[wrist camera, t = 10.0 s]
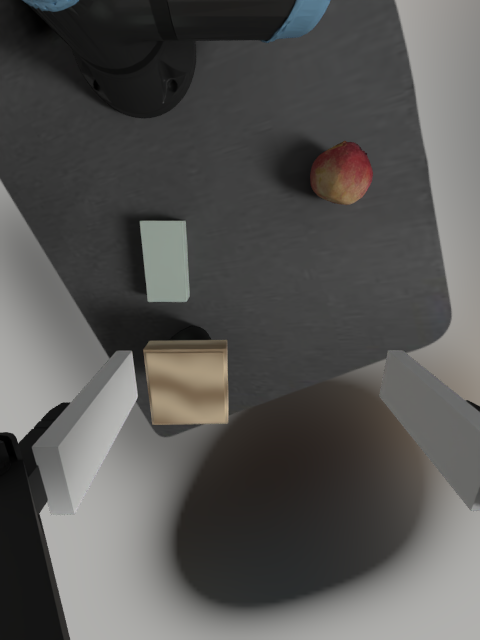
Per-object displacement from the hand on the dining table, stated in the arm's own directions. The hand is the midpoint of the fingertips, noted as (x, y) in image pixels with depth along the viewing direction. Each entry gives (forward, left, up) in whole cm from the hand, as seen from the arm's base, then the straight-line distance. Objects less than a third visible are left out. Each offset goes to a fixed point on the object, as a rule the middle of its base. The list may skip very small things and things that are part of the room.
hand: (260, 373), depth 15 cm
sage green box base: (-1, -12, -35) cm, 37 cm away
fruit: (-13, +13, -35) cm, 39 cm away
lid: (+15, -8, -25) cm, 30 cm away
